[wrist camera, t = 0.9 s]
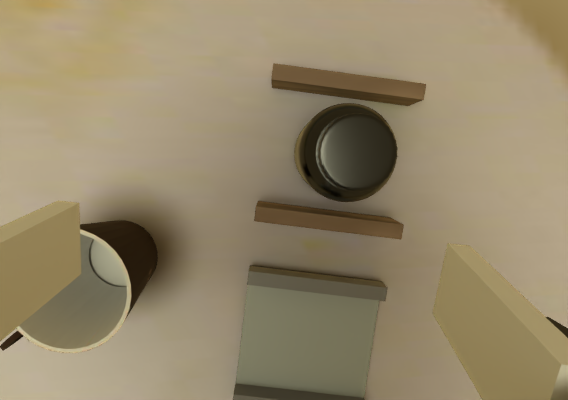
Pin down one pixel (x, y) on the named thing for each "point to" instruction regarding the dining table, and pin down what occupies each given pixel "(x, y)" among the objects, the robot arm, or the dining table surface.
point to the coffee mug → (94, 290)
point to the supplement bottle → (346, 152)
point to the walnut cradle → (346, 88)
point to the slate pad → (306, 336)
